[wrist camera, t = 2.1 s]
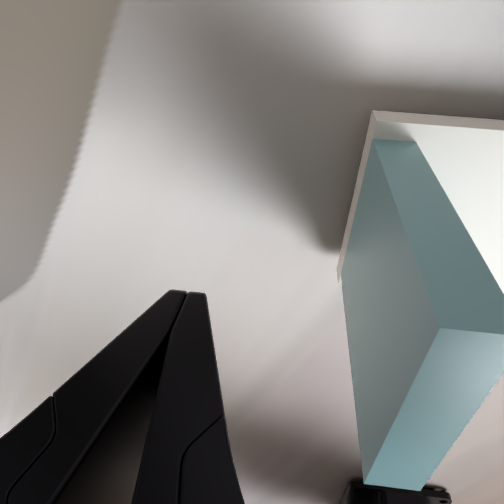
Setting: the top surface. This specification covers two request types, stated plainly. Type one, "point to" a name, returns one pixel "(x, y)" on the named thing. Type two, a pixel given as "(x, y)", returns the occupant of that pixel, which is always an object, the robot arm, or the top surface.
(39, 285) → the top surface
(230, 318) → the top surface
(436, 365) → the sled
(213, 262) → the top surface
